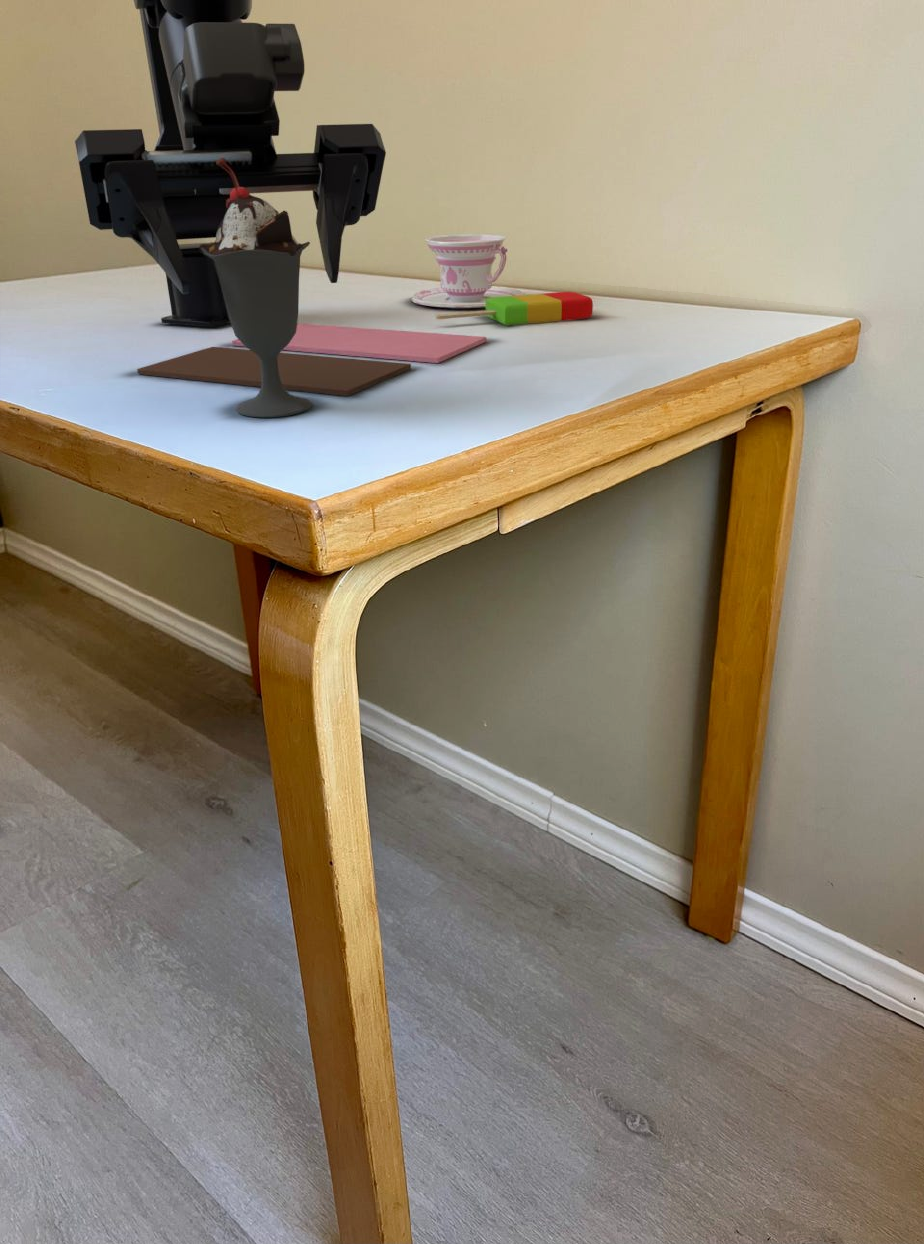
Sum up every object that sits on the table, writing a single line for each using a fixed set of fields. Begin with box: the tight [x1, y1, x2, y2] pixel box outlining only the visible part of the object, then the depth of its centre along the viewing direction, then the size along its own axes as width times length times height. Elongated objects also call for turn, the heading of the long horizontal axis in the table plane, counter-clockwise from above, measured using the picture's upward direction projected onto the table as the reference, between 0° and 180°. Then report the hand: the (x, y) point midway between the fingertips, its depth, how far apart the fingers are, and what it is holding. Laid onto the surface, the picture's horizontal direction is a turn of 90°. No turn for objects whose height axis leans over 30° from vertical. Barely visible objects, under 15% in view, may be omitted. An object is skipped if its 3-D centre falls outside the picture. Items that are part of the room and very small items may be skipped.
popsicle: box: [435, 291, 594, 326], centre depth 91 cm, size 6×15×2 cm, turn 109°
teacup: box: [410, 233, 526, 309], centre depth 100 cm, size 12×12×6 cm
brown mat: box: [136, 346, 412, 397], centre depth 74 cm, size 19×9×1 cm, turn 64°
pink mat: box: [231, 322, 487, 364], centre depth 83 cm, size 20×9×1 cm, turn 64°
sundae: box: [199, 158, 312, 419], centre depth 61 cm, size 7×7×15 cm
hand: (261, 283), depth 60 cm, fingers open, 9 cm apart
